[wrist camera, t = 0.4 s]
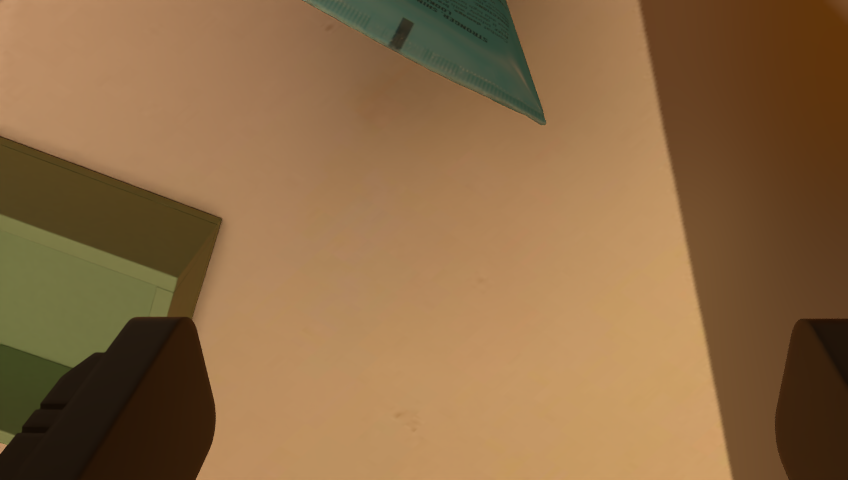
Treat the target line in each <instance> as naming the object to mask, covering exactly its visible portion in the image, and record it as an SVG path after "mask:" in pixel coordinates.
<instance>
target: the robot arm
mask: <svg viewBox="0 0 848 480" xmlns="http://www.w3.org/2000/svg"><path fill="white" fill-rule="evenodd" d="M215 421H216V413H215V403H214V399H213V394H212V390H211V386H210V382H209V378H208V374H207V370H206V366H205V361H204V357H203V353H202V349H201V345H200V341H199V337H198V333H197V329H196V326H195V324H194V322H193V321H192V320H191V319H190V318H189V317H133V318H132V319H130V320H129V321H128V322H127V323H126V325H125V326H124V327H123V329H122V330H121V331H120V333H119V334H118V335H117V337H116V338H115V340H114V341H113V342H112V344H111V345H110V346H109V348H108V349H107V350H106V352H95V353H93V354H92V355H91V356H89V357H88V358H86V359H85V360H84V361H82V362H81V363H79V364H78V365H77V366H75V367H74V368H72V369H71V370H70V371H68V372H67V373H65V374H64V375H63V376H62V377H61V378H60V379H59V380H58V382H57V383H56V384H55V385H54V387H53V388H52V389H51V390H50V392H49V393H48V394H47V396H46V397H45V398H44V399H43V401H42V402H41V403H40V409H36V410H35V411H34V412H33V413H32V415H31V416H30V417H29V418H28V420H27V421H26V422H25V424H24V425H23V426H22V432H21V433H17V434H16V435H15V436H14V438H13V439H12V440H11V441H10V443H9V444H8V445H7V446H6V448H5V449H4V450H3V451H2V453H1V454H0V480H196V478H197V475H198V473H199V471H200V469H201V467H202V465H203V462H204V460H205V458H206V456H207V454H208V452H209V449H210V447H211V444H212V441H213V436H214V431H215ZM775 433H776V442H777V448H778V452H779V456H780V459H781V462H782V464H783V467H784V469H785V471H786V474H787V476H788V478H789V480H848V319H800V320H798V321H797V322H796V324H795V325H794V328H793V330H792V334H791V339H790V344H789V349H788V354H787V359H786V364H785V369H784V374H783V379H782V384H781V389H780V394H779V399H778V404H777V409H776V416H775Z"/></svg>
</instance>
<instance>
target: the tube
mask: <svg viewBox="0 0 848 480" xmlns="http://www.w3.org/2000/svg"><path fill="white" fill-rule="evenodd" d="M303 1H305V2H306V3H308V4H310V5H312V6H314V7H316V8H317V9H319V10H321V11H322V12H324V13H326V14H328V15H330V16H332V17H334V18H336V19H337V20H339V21H341V22H342V23H344V24H346V25H347V26H349V27H351V28H353V29H355V30H357V31H359V32H361V33H363V34H365V35H366V36H368V37H370V38H371V39H373V40H375V41H376V42H378V43H380V44H382V45H384V46H386V47H388V48H390V49H392V50H394V51H395V52H397V53H399V54H401V55H403V56H404V57H406V58H408V59H410V60H412V61H414V62H416V63H418V64H420V65H422V66H424V67H425V68H427V69H429V70H430V71H433V72H435V73H438V74H439V75H441V76H443V77H445V78H447V79H449V80H451V81H453V82H455V83H457V84H459V85H461V86H464V87H466V88H468V89H471V90H473V91H475V92H477V93H479V94H481V95H483V96H486V97H488V98H490V99H492V100H493V101H495V102H497V103H499V104H501V105H503V106H506V107H508V108H510V109H512V110H514V111H516V112H519V113H521V114H524V115H526V116H527V117H529V118H530V119H532V120H534V121H535V122H537V123H539V124H540V125H546V120H545V118H544V113H543V109H542V106H541V103H540V100H539V97H538V94H537V91H536V89H535V86H534V83H533V80H532V77H531V74H530V71H529V68H528V65H527V62H526V59H525V56H524V53H523V50H522V47H521V44H520V41H519V38H518V35H517V32H516V29H515V26H514V23H513V20H512V17H511V14H510V11H509V8H508V5H507V3H506V0H303Z"/></svg>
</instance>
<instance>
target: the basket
mask: <svg viewBox="0 0 848 480" xmlns="http://www.w3.org/2000/svg"><path fill="white" fill-rule="evenodd" d="M221 221H222V219H221V218H218V217H215V216H213V215H210V214H207V213H204V212H202V211H199V210H196V209H194V208H191V207H188V206H186V205H183V204H180V203H177V202H175V201H172V200H169V199H167V198H164V197H161V196H159V195H156V194H153V193H150V192H148V191H145V190H142V189H140V188H137V187H134V186H132V185H129V184H126V183H123V182H121V181H118V180H115V179H113V178H110V177H107V176H105V175H102V174H99V173H96V172H94V171H91V170H88V169H86V168H83V167H80V166H78V165H75V164H72V163H69V162H67V161H64V160H61V159H59V158H56V157H53V156H51V155H48V154H45V153H43V152H40V151H37V150H34V149H32V148H29V147H26V146H24V145H21V144H18V143H16V142H13V141H10V140H7V139H5V138H2V137H0V443H3V444H6V445H8V444H9V443H10V441H11V440H12V439H13V438H14V436H15V435H16V434H17V433H21V432H22V426H23V425H24V424H25V422H26V421H27V420H28V418H29V417H30V416H31V415H32V413H33V412H34V411H35V410H36V409H40V403H41V402H42V401H43V399H44V398H45V397H46V396H47V394H48V393H49V392H50V390H51V389H52V388H53V387H54V385H55V384H56V383H57V382H58V380H59V379H60V378H61V377H62V376H63V375H64V374H65V373H67V372H68V371H70V370H71V369H72V368H74V367H75V366H77V365H78V364H79V363H81V362H82V361H84V360H85V359H86V358H88V357H89V356H91V355H92V354H93V353H95V352H106V350H107V349H108V348H109V346H110V345H111V344H112V342H113V341H114V340H115V338H116V337H117V335H118V334H119V333H120V331H121V330H122V329H123V327H124V326H125V325H126V323H127V322H128V321H129V320H130V319H132V318H133V317H189V318H190V319H192V316H193V313H194V310H195V306H196V303H197V300H198V296H199V293H200V290H201V287H202V283H203V280H204V277H205V273H206V270H207V267H208V264H209V260H210V257H211V254H212V251H213V247H214V244H215V241H216V237H217V234H218V231H219V228H220V224H221Z"/></svg>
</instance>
